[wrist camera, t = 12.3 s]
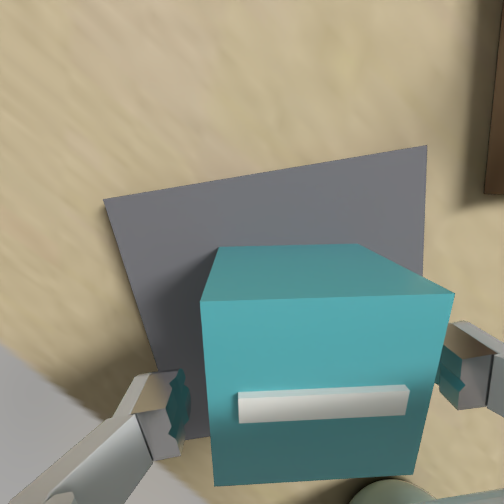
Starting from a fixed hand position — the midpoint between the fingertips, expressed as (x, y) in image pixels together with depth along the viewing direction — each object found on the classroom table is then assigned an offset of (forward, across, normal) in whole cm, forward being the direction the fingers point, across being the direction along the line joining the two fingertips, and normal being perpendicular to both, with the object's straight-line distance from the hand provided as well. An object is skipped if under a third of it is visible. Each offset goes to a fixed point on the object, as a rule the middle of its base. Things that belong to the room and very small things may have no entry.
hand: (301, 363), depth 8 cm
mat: (+4, 0, 0) cm, 4 cm away
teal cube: (+3, 0, 0) cm, 3 cm away
